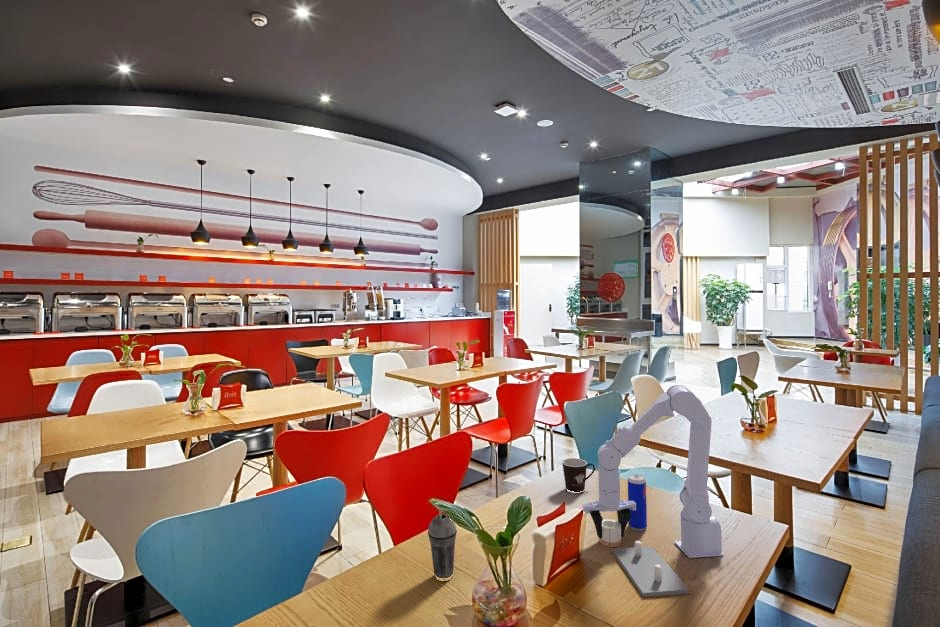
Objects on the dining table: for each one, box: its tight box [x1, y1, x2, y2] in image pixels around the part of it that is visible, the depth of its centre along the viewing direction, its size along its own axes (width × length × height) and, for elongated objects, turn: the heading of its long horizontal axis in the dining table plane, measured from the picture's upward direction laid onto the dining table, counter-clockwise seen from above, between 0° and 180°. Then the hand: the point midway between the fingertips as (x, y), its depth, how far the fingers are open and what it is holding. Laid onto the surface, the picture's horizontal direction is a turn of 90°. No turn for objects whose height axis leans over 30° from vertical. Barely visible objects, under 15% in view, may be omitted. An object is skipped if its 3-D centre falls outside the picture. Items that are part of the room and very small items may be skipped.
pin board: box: [611, 540, 690, 598], centre depth 118 cm, size 19×11×4 cm, turn 4°
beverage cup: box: [427, 499, 458, 578], centre depth 118 cm, size 7×7×20 cm
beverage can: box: [627, 473, 648, 531], centre depth 141 cm, size 5×5×15 cm
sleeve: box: [598, 518, 622, 548], centre depth 133 cm, size 6×6×5 cm
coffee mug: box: [561, 457, 596, 492], centre depth 168 cm, size 12×9×10 cm
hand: (610, 535), depth 133 cm, fingers closed on sleeve, 6 cm apart
